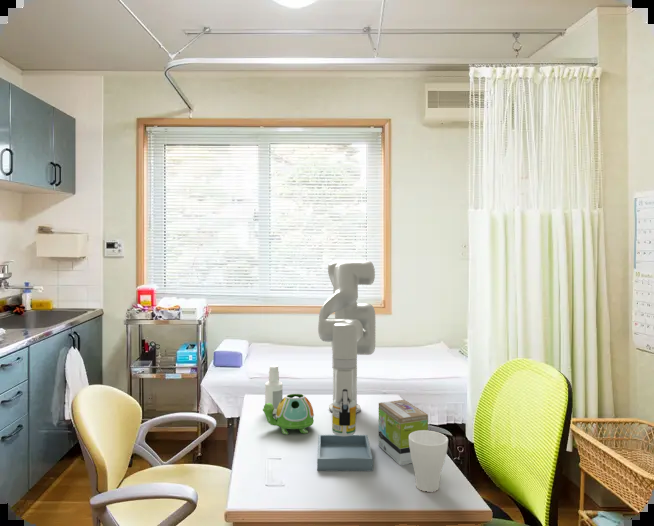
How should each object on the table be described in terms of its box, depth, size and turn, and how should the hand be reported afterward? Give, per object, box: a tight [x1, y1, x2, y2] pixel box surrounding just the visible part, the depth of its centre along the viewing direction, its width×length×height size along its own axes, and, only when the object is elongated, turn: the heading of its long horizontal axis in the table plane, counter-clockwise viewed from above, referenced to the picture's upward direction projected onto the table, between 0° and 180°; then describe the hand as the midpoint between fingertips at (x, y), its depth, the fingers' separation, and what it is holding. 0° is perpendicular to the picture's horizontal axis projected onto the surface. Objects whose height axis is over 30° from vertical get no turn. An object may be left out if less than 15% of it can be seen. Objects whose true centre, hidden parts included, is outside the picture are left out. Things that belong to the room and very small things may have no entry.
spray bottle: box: [264, 364, 284, 415], centre depth 190 cm, size 7×7×18 cm
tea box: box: [378, 399, 429, 466], centre depth 152 cm, size 15×10×15 cm
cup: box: [409, 429, 449, 493], centre depth 131 cm, size 10×10×14 cm
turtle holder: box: [262, 393, 315, 435], centre depth 172 cm, size 12×18×12 cm
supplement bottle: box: [331, 391, 357, 436], centre depth 148 cm, size 7×7×13 cm
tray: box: [316, 434, 374, 472], centre depth 149 cm, size 18×16×4 cm
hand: (344, 420), depth 149 cm, fingers closed on supplement bottle, 7 cm apart
